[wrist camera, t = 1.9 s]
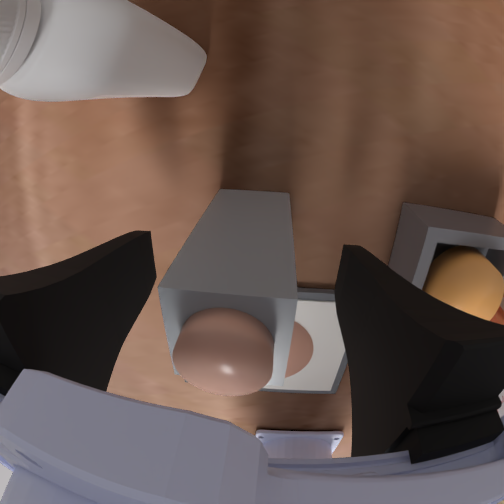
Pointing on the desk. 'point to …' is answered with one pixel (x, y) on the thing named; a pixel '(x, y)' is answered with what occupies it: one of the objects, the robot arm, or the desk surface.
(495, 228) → the button housing
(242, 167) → the desk surface
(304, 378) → the picture frame
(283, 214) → the grey rectangular block
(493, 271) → the button
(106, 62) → the eye dropper bottle
